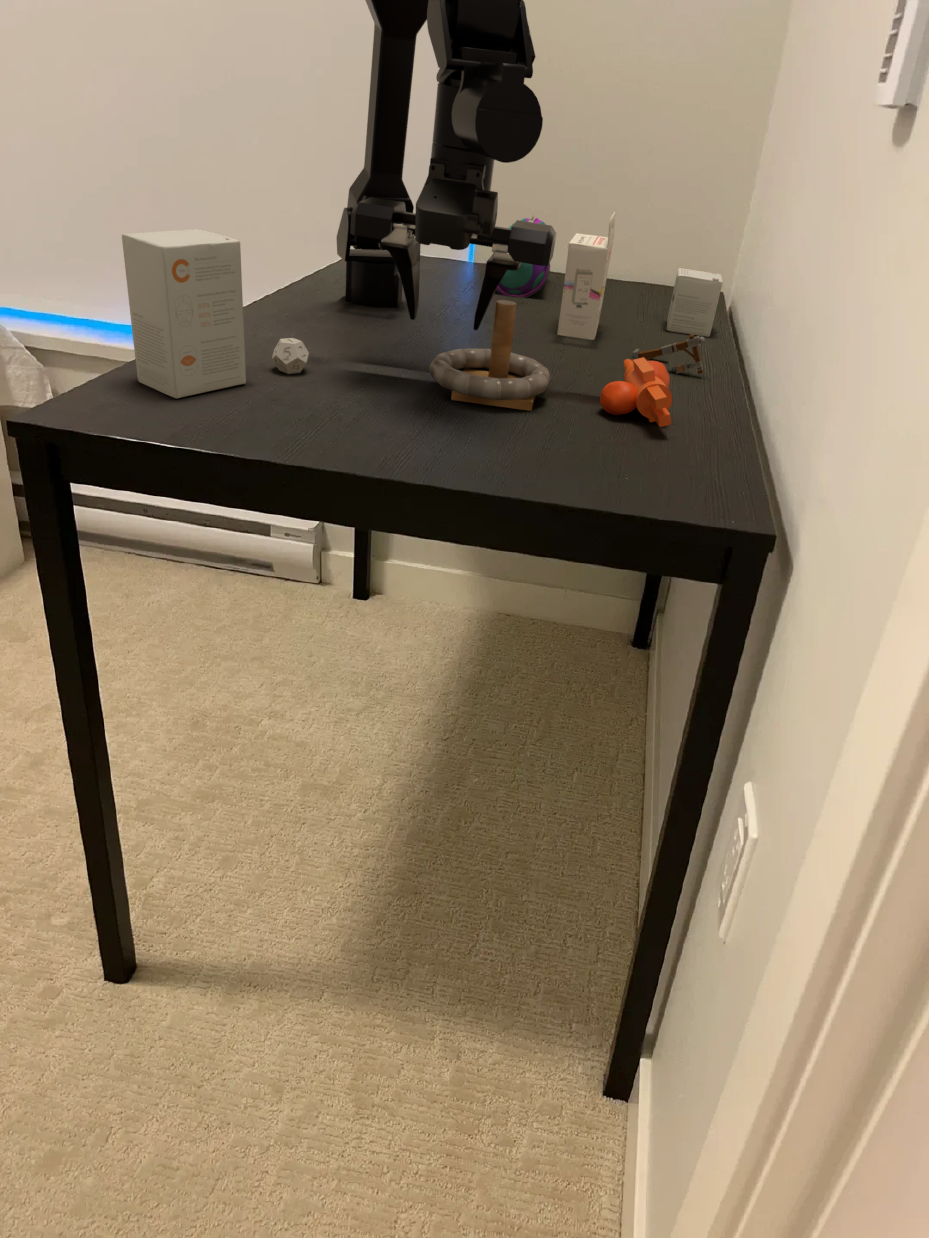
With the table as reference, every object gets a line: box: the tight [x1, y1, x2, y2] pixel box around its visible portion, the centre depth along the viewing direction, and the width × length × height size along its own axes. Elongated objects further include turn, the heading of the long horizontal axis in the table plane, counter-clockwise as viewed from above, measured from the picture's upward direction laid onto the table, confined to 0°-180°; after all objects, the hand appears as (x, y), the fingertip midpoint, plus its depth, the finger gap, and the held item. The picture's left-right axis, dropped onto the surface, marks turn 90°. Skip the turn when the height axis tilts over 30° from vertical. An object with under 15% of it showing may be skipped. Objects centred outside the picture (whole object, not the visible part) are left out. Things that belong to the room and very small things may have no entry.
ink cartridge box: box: [556, 211, 616, 341], centre depth 109 cm, size 9×5×15 cm, turn 168°
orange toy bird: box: [599, 357, 673, 428], centre depth 87 cm, size 5×8×12 cm
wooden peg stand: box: [450, 299, 537, 412], centre depth 88 cm, size 8×8×9 cm
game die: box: [271, 337, 310, 375], centre depth 89 cm, size 4×4×3 cm
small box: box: [121, 228, 247, 399], centre depth 81 cm, size 8×6×13 cm
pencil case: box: [492, 215, 551, 299], centre depth 133 cm, size 21×9×10 cm, turn 174°
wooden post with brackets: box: [633, 334, 706, 375], centre depth 103 cm, size 2×8×4 cm, turn 69°
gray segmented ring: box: [428, 348, 551, 400], centre depth 89 cm, size 12×12×2 cm
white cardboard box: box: [665, 267, 724, 338], centre depth 121 cm, size 6×6×7 cm
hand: (444, 324), depth 87 cm, fingers open, 6 cm apart
